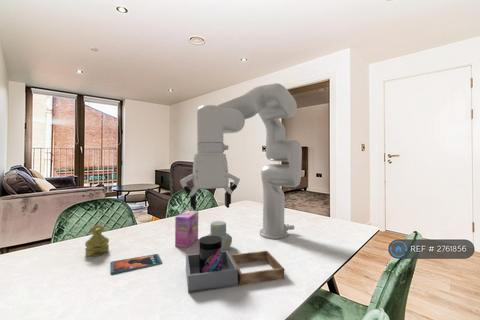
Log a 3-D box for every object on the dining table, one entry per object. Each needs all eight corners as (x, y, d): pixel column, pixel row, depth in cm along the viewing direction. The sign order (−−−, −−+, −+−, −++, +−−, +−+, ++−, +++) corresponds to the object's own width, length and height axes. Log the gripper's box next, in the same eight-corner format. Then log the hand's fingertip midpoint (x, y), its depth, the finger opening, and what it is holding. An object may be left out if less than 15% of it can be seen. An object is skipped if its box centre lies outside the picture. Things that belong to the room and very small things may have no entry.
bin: (227, 264, 77) (227, 250, 77) (237, 285, 65) (237, 269, 64) (185, 269, 74) (185, 254, 74) (188, 293, 61) (188, 275, 61)
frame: (267, 259, 81) (267, 250, 81) (284, 278, 68) (284, 268, 68) (229, 263, 77) (229, 254, 77) (240, 285, 65) (240, 274, 65)
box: (188, 248, 91) (188, 217, 90) (174, 246, 92) (174, 216, 91) (198, 238, 101) (198, 211, 100) (186, 237, 102) (186, 210, 102)
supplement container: (195, 279, 66) (195, 243, 66) (202, 268, 73) (202, 234, 73) (219, 281, 66) (219, 244, 65) (224, 269, 72) (224, 235, 72)
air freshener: (222, 256, 83) (222, 228, 83) (201, 253, 86) (201, 225, 86) (233, 245, 93) (233, 220, 93) (214, 242, 96) (215, 218, 96)
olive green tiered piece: (113, 250, 88) (113, 223, 88) (95, 258, 81) (95, 229, 81) (98, 247, 90) (98, 221, 90) (80, 255, 83) (79, 227, 83)
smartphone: (162, 262, 77) (110, 272, 70) (162, 266, 77) (110, 276, 70) (158, 252, 84) (110, 260, 77) (158, 256, 85) (110, 264, 77)
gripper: (236, 149, 74) (236, 203, 75) (179, 149, 70) (180, 206, 70) (242, 149, 67) (242, 208, 68) (180, 149, 62) (180, 213, 63)
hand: (210, 207), depth 69 cm, fingers open, 9 cm apart
